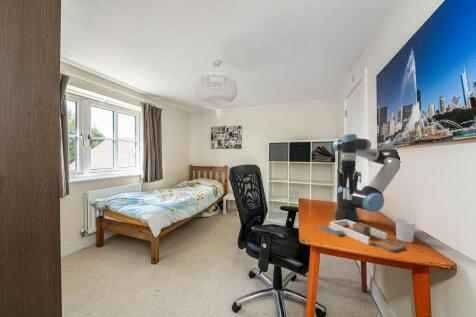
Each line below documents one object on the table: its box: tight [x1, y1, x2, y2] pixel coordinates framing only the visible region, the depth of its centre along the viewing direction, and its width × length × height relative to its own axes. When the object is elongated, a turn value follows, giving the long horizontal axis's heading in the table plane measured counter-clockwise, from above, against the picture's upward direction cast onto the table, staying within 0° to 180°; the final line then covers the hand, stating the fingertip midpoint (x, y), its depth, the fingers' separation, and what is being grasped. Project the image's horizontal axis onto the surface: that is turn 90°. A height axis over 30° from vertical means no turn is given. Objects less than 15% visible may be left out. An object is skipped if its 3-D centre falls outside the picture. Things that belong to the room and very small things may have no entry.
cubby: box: [328, 219, 388, 245], centre depth 109 cm, size 15×24×4 cm, turn 23°
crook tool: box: [318, 224, 345, 237], centre depth 111 cm, size 5×12×2 cm, turn 29°
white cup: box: [395, 218, 416, 243], centre depth 102 cm, size 8×8×10 cm
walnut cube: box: [352, 222, 372, 238], centre depth 106 cm, size 6×6×6 cm
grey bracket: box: [371, 238, 406, 253], centre depth 94 cm, size 10×9×1 cm
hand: (347, 199), depth 114 cm, fingers open, 2 cm apart
